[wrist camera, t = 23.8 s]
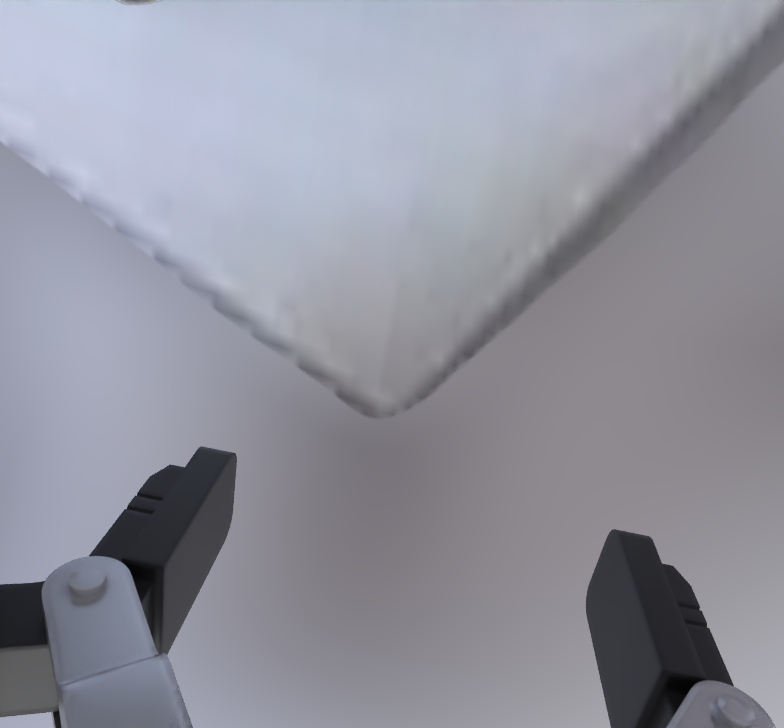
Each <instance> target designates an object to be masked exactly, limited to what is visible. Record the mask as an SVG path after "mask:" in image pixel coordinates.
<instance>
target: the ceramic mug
mask: <svg viewBox="0 0 784 728" xmlns="http://www.w3.org/2000/svg"><path fill="white" fill-rule="evenodd" d="M116 1H117V2H120V3H122V4H125V5H142V4H151V3H154V2H158V1H162V0H116Z"/></svg>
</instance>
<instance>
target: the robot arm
mask: <svg viewBox="0 0 784 728" xmlns="http://www.w3.org/2000/svg"><path fill="white" fill-rule="evenodd" d="M236 462H237V457H236V454H235V453H232V452H227V451H222V450H216V449H211V448H206V447H200V448H199V449H198V450H197V451H196V453H195V454H194V455H193V457H192V458H191V460H190V461H189V462H188V464H187V466H186V467H180V466H175V465H169V466H167V467H165V468H164V469H162V470H160V471H159V472H157V473H155V474H154V475H152V476H150V477H149V479H148V480H147V481H146V482H145V484H144V485H143V487H142V488H141V489H140V490H139V492H138V494H137V496H135V497H134V498H133V499H132V501H131V502H130V503H129V505H128V507H127V509H125V510H124V511H123V512H122V514H121V515H120V516H119V518H118V519H117V520H116V522H115V523H114V524H113V525H112V527H111V528H110V529H109V531H108V532H107V533H106V535H105V536H104V537H103V538H102V540H101V541H100V542H99V544H98V545H97V546H96V548H95V549H94V550H93V551H92V553H91V554H90V555H89V557H84V558H79V559H75V560H72V561H70V562H68V563H66V564H64V565H62V566H60V567H59V568H57V569H56V570H54V571H53V572H52V573H51V574H50V575H49V576H48V578H47V579H46V580H45V581H43V582H36V583H24V584H3V585H0V717H6V716H16V715H26V714H36V713H46V712H51V714H52V720H53V726H54V728H193V727H192V724H191V721H190V718H189V715H188V712H187V710H186V706H185V703H184V701H183V698H182V695H181V692H180V689H179V686H178V683H177V680H176V678H175V675H174V672H173V669H172V666H171V663H170V661H169V658H168V657H167V654H168V652H169V650H170V648H171V646H172V644H173V642H174V640H175V638H176V636H177V634H178V632H179V630H180V628H181V626H182V624H183V622H184V620H185V618H186V616H187V614H188V612H189V611H190V609H191V607H192V605H193V603H194V601H195V599H196V597H197V595H198V593H199V591H200V589H201V587H202V585H203V583H204V581H205V579H206V577H207V575H208V573H209V571H210V569H211V567H212V565H213V563H214V561H215V559H216V557H217V555H218V553H219V551H220V550H221V548H222V545H223V544H224V541H225V539H226V537H227V534H228V531H229V528H230V524H231V520H232V514H233V503H234V490H235V477H236ZM699 608H700V606H699V604H698V601H697V599H696V597H695V594H694V592H693V590H692V588H691V586H690V584H689V583H688V582H687V581H686V580H685V579H684V578H683V577H682V576H681V574H680V573H679V572H678V571H677V570H676V569H675V568H674V567H673V566H671V565H666V564H662V563H661V560H660V558H659V555H658V553H657V550H656V547H655V545H654V543H653V540H652V539H651V538H650V537H649V536H645V535H639V534H634V533H629V532H625V531H619V530H615V529H614V530H612V531H611V532H610V533H609V535H608V537H607V539H606V541H605V544H604V547H603V549H602V552H601V555H600V557H599V560H598V563H597V565H596V568H595V570H594V573H593V576H592V578H591V581H590V584H589V587H588V591H587V597H586V614H587V619H588V623H589V628H590V633H591V637H592V642H593V647H594V651H595V656H596V660H597V665H598V670H599V674H600V679H601V683H602V688H603V693H604V697H605V702H606V706H607V711H608V716H609V720H610V725H611V728H775V725H774V723H773V722H772V720H771V718H770V717H769V715H768V714H767V713H766V712H765V710H764V709H763V708H762V707H761V706H760V705H759V704H758V703H757V702H756V701H755V700H754V699H752V698H751V697H750V696H748V695H747V694H746V693H744V692H743V691H741V690H739V689H737V688H735V687H734V685H733V683H732V680H731V678H730V676H729V673H728V671H727V669H726V666H725V664H724V662H723V660H722V657H721V655H720V653H719V650H718V648H717V646H716V643H715V641H714V639H713V636H712V634H711V632H710V629H709V628H707V623H706V620H705V618H704V616H703V613H702V611H700V610H699Z"/></svg>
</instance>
